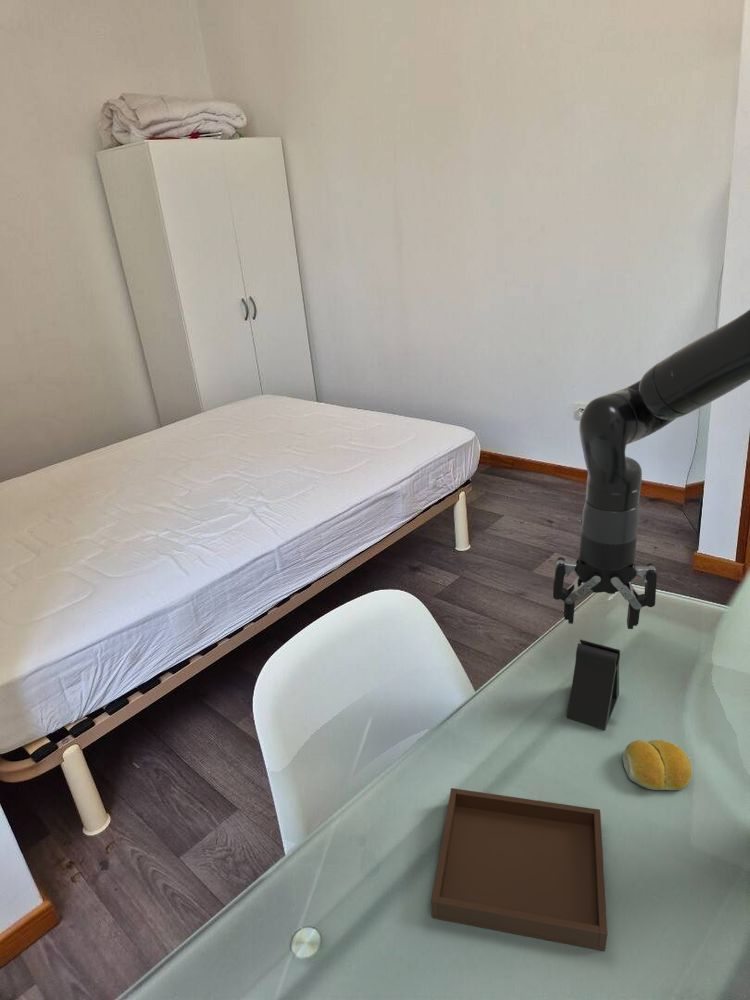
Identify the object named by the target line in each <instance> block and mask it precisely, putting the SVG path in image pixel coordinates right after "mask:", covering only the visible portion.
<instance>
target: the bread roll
mask: <svg viewBox="0 0 750 1000" xmlns="http://www.w3.org/2000/svg"><path fill="white" fill-rule="evenodd" d="M622 761H623V767H624V770H625V772H626V775H627V777H628V778H629V780H631V781H632V782H633V783H634V784H637V785H639V786H640V787H643V788H645V789H647V790H654V791H679V790H683V789H685V788H686V787H687V785H688V784H689V782H690V780H691V779H692V773H693V766H692V763H691V760H690V758H689V756H688V755H687V754H686V752H685V751H684V750H683V749H682V748H681V747H680V746H677V745H676V744H674V743H671V742H669V741H666V740H663V739H652V740H648V741H644V740H642V739H641V740H639V739H637V740H634V741H632V742H630V743H629V744H628V745H627V746H626V747H625V749H624V752H623V755H622Z"/></svg>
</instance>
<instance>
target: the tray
mask: <svg viewBox="0 0 750 1000" xmlns="http://www.w3.org/2000/svg"><path fill="white" fill-rule="evenodd" d="M602 836H603V835H602V817H601V809H598V808H591V807H585V806H579V805H570V804H564V803H558V802H550V801H544V800H538V799H537V800H536V799H530V798H523V797H515V796H509V795H502V794H501V795H500V794H495V793H488V792H480V791H474V790H467V789H461V788H454V787H451V788H450V792H449V798H448V804H447V810H446V815H445V822H444V825H443V833H442V839H441V843H440V848H439V849H440V850H439V854H438V855H439V856H438V861H437V866H436V872H435V879H434V884H433V889H432V896H431V899H430V901H431V904H430V905H431V918H432V919H433V920H434V919H435V920H440V921H446V922H450V923H455V924H461V925H466V926H472V927H477V928H482V929H487V930H492V931H498V932H502V933H507V934H513V935H518V936H524V937H529V938H534V939H538V940H543V941H550V942H554V943H560V944H565V945H570V946H575V947H580V948H585V949H590V950H591V949H592V950H595V951H600V952H601V951H602V952H606V949H607V948H606V947H607V942H608V941H607V940H608V923H607V906H606V887H605V870H604V853H603V837H602Z"/></svg>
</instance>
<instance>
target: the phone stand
mask: <svg viewBox="0 0 750 1000" xmlns="http://www.w3.org/2000/svg"><path fill="white" fill-rule="evenodd" d="M620 657H621V649H619V648H614V647H610V646H607V645H603V644H599V643H595V642H592V641H588V640H584V639H579V642H578V643H577V647H576V651H575V662H574V663H575V664H574V669H573V676H572V682H571V689H570V695H569V701H568V705H567V706H568V707H567V713H566V718H567V719H571V720H574V721H577V722H580V723H582V724H586V725H589V726H592V727H595V728H598V729H601V730H604V731H606V730H607V726H608V724H609V721H610V719H611V716H612V714H613V711H614V709H615V706H616V704H617V701H618V699H619V697H620V696H619V695H620Z"/></svg>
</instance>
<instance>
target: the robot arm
mask: <svg viewBox="0 0 750 1000" xmlns="http://www.w3.org/2000/svg"><path fill="white" fill-rule="evenodd" d="M749 381H750V309H748V310H747V311H745V312H744V313H742V314H740V315H739V316H738V317H735V318H734V319H732V320H731V321H729V322H728V323H725V324H724V325H721V326H720V327H718V328H716V329H714V330H712V331H710V332H708V333H706V334H705V335H703V336H701V337H699V338H697V339H695V340H694V341H691V342H690V343H688V344H686V345H685V346H683V347H682V348H680V349H678V350H677V351H675V352H673V353H672V354H670V355H669V356H666V358H664V359H662V360H660V361H659V362H657V363H656V364H654V365H653V366H652V367H650V368H649V369H648V370H647V371H645V372H644V374H643V375H642V377H641V379H639V380H638V381H635V382H634V383H632V384H631V385H628V386H627V387H624V388H622V389H618V390H616V391H613V392H610V393H607V394H604V395H601V396H598V397H595V398H593V399H592V400H591V401H589V402H588V403H587V405H586V406H585V407H584V409H583V411H582V413H581V416H580V419H579V427H578V431H579V439H580V443H581V448H582V453H583V458H584V462H585V467H586V471H587V476H586V477H587V478H586V487H585V488H586V489H585V501H584V504H583V509H582V516H581V520H580V525H581V530H580V540H579V541H580V542H579V555H578V559H577V560H576V561H568V560H566V558H564V557H562V556H560V557H558V558H556V562H555V571H554V577H553V578H554V579H553V586H552V597H553V599H554V600H557V601H558V600H559V601H560V600H561V601H563V602H564V605H563V618H564V620H565V621H567V623H568V625H569V624H570V625H573V624H574V619H575V607H576V605H575V603H576V601H577V600H578V599H579V598H580V597H581V598H582V597H583V596H584V595H586V594H587V593H588V592H589V591H592V593H594V594H595V593H598V594H599V593H600V594H601V593H606V594H611V595H616V593H618V592H619V594H620V595H621V596H622V597H623V599H624V600H625V601H627V603H628V606H627V615H626V625H627V626H626V627H627V629H628V630H634V627H637V626H638V625H639V621H640V613H641V609H642V608H644V607H648V608H653V607H655V606H656V599H657V598H656V597H657V579H658V573H657V570H656V566H655V564H654V563H652V562H649V563H646V565H645V566H643V565H642V566H641V565H640V566H638V565H637V566H636V564H635V559H636V558H635V557H636V548H637V539H638V532H639V524H640V498H641V497H640V496H641V491H642V480H643V470H642V467H641V465H640V463H639V462H638V461H637V460H635V459H634V458H632V457H629V456H626V448H627V445H629V444H631V443H632V444H633V443H634V442H637V441H640V440H642V439H644V438H647V437H648V436H650V435H652V434H654V433H656V432H658V431H660V430H662V429H663V428H664V427H666V426H667V425H669V424H671V423H672V422H673V421H675V420H676V419H678V418H681V417H684V416H686V415H688V414H690V413H692V412H694V411H697V410H699V409H700V408H702V407H704V406H706V405H708V404H710V403H712V402H713V401H714V402H715V400H717V399H720V398H721V397H723V396H725V395H726V394H729V393H730V392H733V391H734V390H735V389H737V388H738V387H740V386H742V385H743V384H746V383H747V382H749ZM572 572H575V574H576V575H577V577H576V578H575V579H574V581H573V582H572V584H570V585H569V586H568V587H567V588H565V587H564V582H565V578H567V577H569V576H570V574H571V573H572ZM636 576H638V577H639V578H640V580H641V582H643V583H644V593H641V594H639V593H638V592H637V591H636V589H635V587H634V586H633V585H632V582H631V581H633V580H634V579H635V578H636Z"/></svg>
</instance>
